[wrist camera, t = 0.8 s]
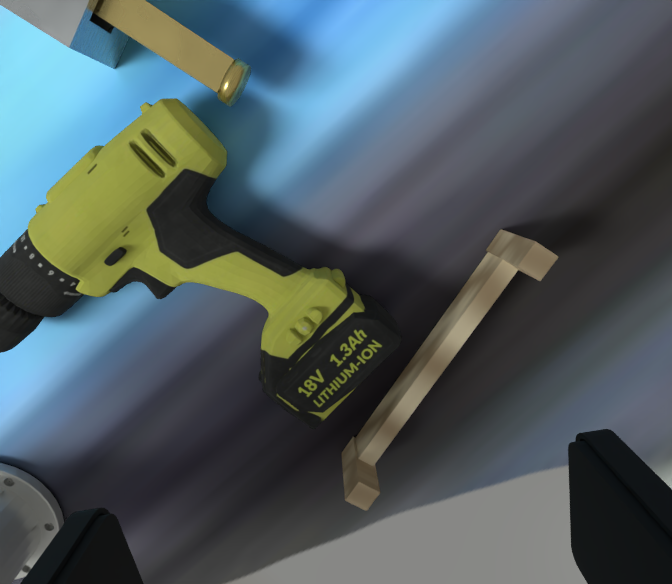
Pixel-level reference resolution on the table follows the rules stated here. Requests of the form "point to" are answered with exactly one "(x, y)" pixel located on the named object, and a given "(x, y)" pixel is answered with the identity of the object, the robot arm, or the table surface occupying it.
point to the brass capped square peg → (177, 46)
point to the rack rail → (437, 357)
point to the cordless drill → (188, 260)
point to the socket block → (73, 26)
